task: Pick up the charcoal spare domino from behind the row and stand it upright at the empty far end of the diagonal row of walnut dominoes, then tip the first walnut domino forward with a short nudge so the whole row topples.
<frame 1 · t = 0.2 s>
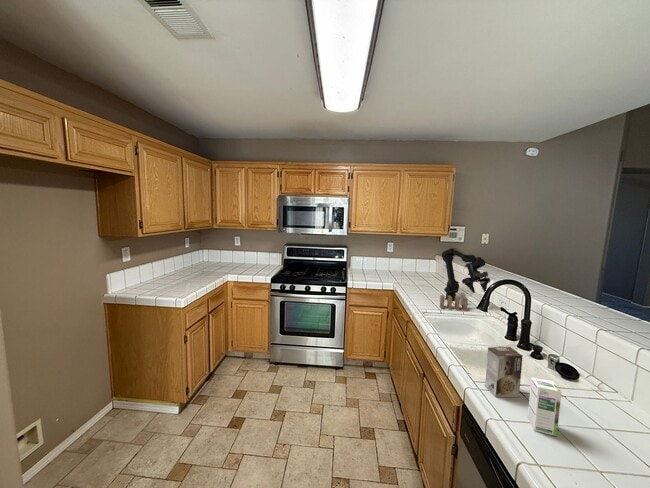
hand: (479, 292, 179), 15 cm above the worktop, tool tilted 30°, fingers open, 9 cm apart
syrup box: (541, 427, 82), on the worktop
coffee box: (501, 392, 98), on the worktop
domino 3: (456, 309, 188), on the worktop
spare domino: (462, 305, 197), on the worktop
domino 2: (449, 308, 189), on the worktop
domino 4: (464, 310, 187), on the worktop
domino 1: (441, 308, 190), on the worktop
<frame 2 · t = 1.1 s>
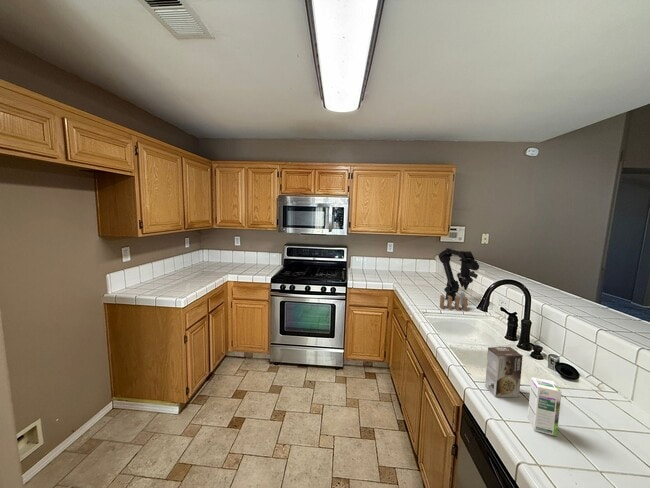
hand: (463, 288, 196), 13 cm above the worktop, tool pointing down, fingers open, 9 cm apart
nothing on the worktop moved.
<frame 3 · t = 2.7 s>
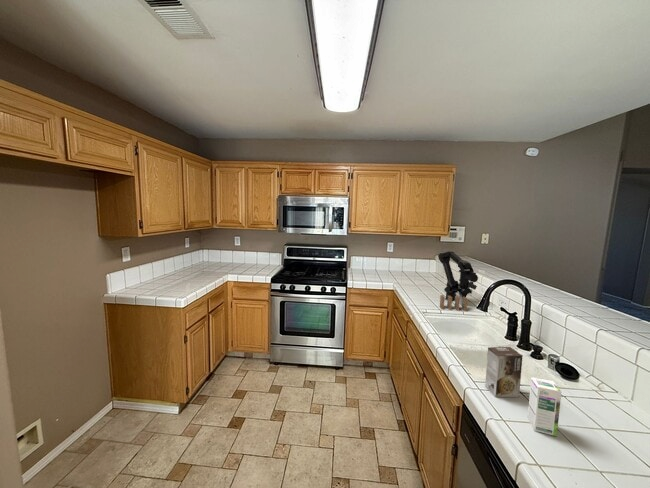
hand: (462, 299, 197), 5 cm above the worktop, tool pointing down, fingers closed on spare domino, 5 cm apart
spare domino: (462, 305, 197), on the worktop, touching gripper
everything else where it was.
when the fingers open (5 cm above the worktop, at t = 6.9 s): spare domino stays where it is, on the worktop.
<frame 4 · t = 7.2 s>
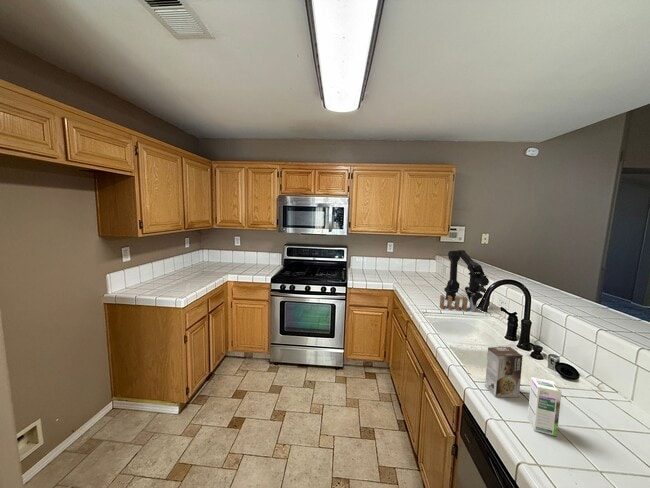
hand: (472, 303, 185), 5 cm above the worktop, tool pointing down, fingers open, 8 cm apart
spare domino: (471, 310, 186), on the worktop
everything else where it was.
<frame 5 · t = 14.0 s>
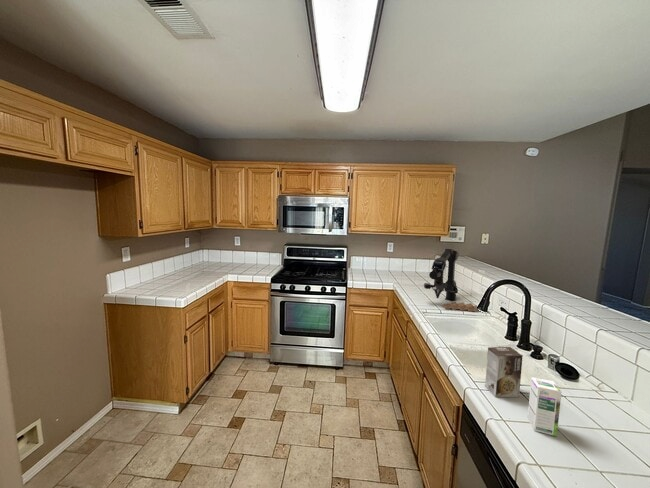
hand: (437, 298, 190), 7 cm above the worktop, tool pointing down, fingers closed
domino 3: (459, 308, 187), point 1 cm above the worktop, tilted 69°, touching domino 2, domino 4
spare domino: (473, 310, 185), on the worktop, tilted 90°, touching domino 4
domino 2: (451, 307, 188), point 1 cm above the worktop, tilted 69°, touching domino 1, domino 3
domino 4: (467, 309, 186), point 1 cm above the worktop, tilted 75°, touching domino 3, spare domino
domino 1: (444, 307, 189), point 1 cm above the worktop, tilted 69°, touching domino 2
everything else where it was.
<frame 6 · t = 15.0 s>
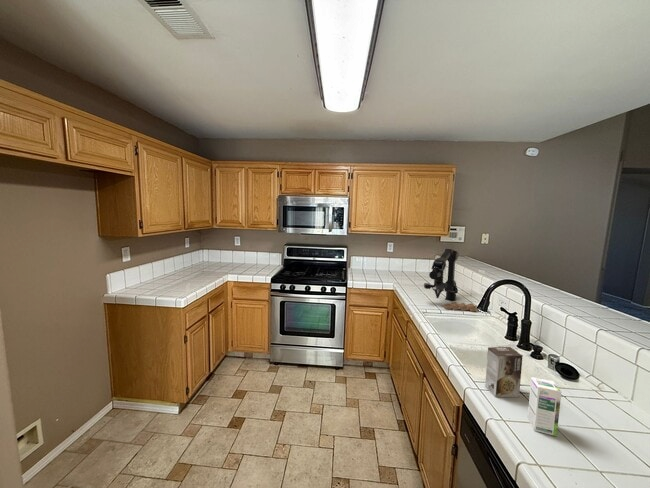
hand: (437, 298, 190), 7 cm above the worktop, tool pointing down, fingers closed
domino 4: (469, 309, 185), point 1 cm above the worktop, tilted 71°, touching domino 3, spare domino
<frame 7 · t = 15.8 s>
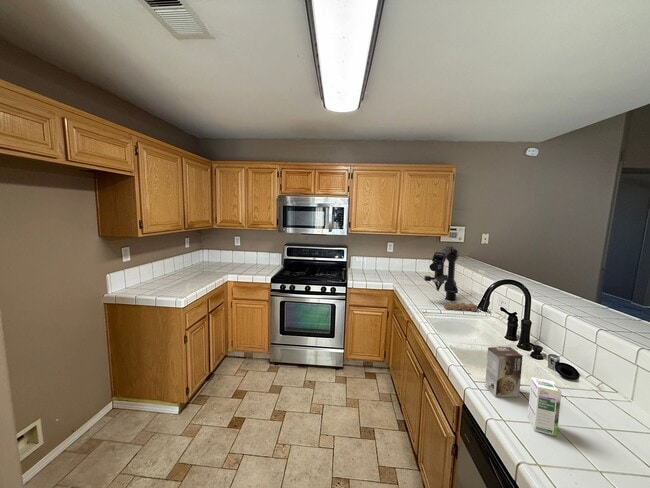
hand: (437, 290, 189), 13 cm above the worktop, tool pointing down, fingers closed
domino 3: (460, 308, 187), point 1 cm above the worktop, tilted 72°, touching domino 2
spare domino: (475, 310, 185), on the worktop, tilted 90°
domino 4: (470, 309, 186), point 1 cm above the worktop, tilted 72°
everything else where it was.
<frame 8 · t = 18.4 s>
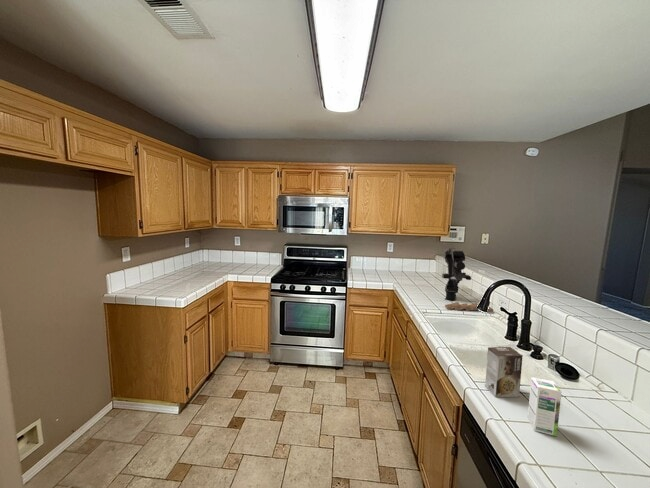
hand: (455, 287, 197), 13 cm above the worktop, tool pointing down, fingers closed
domino 3: (465, 308, 187), point 1 cm above the worktop, tilted 68°
spare domino: (477, 311, 185), on the worktop, tilted 90°, touching domino 4
domino 2: (454, 308, 188), point 1 cm above the worktop, tilted 73°, touching domino 1
domino 4: (477, 308, 184), point 2 cm above the worktop, tilted 90°, touching spare domino
domino 1: (446, 307, 189), point 1 cm above the worktop, tilted 71°, touching domino 2
everything else where it was.
at the end: domino 1 tilted 71°; domino 3 tilted 69°; spare domino tilted 90° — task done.
